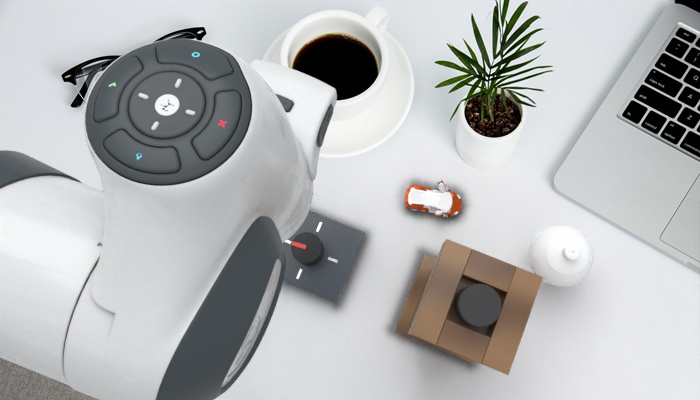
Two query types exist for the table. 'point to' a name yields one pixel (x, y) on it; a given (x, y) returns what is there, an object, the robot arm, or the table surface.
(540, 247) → the white lidded jar
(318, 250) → the dial knob
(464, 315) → the button
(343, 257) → the control panel
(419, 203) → the toy car
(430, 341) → the button stand
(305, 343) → the table surface
